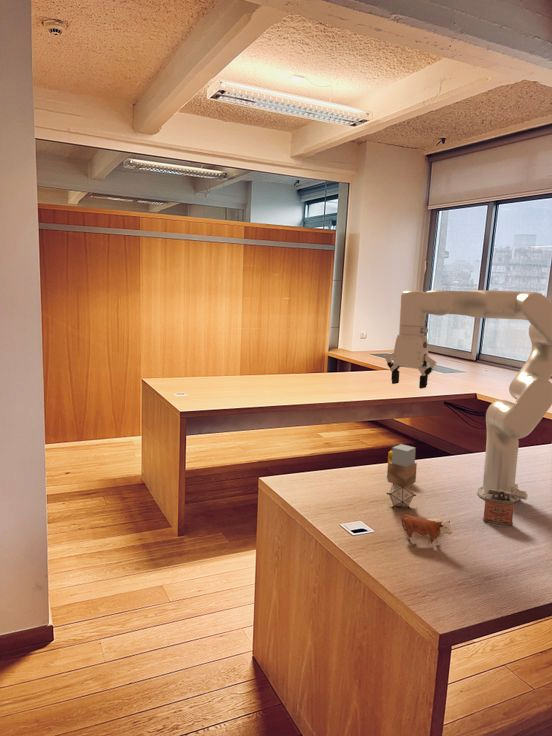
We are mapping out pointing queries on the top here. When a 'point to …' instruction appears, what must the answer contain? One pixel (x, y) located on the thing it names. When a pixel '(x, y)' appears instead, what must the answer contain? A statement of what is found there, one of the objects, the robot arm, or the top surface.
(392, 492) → the game die
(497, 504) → the lighter
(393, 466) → the walnut block
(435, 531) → the bull figurine
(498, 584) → the top surface
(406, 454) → the slate block
